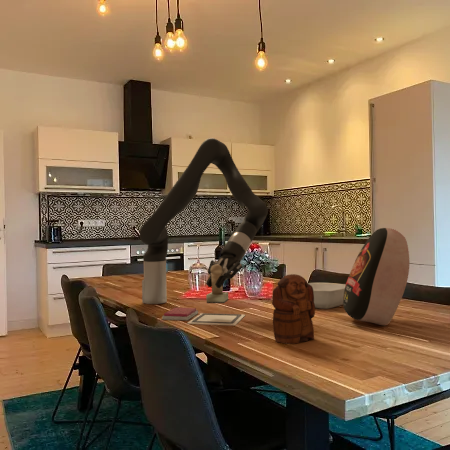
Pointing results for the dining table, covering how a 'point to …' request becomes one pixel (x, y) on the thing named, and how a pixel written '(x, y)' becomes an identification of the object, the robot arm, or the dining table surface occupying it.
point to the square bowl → (328, 294)
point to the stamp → (217, 293)
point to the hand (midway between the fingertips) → (212, 285)
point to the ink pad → (180, 314)
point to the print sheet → (217, 319)
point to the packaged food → (378, 278)
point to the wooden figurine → (293, 310)
